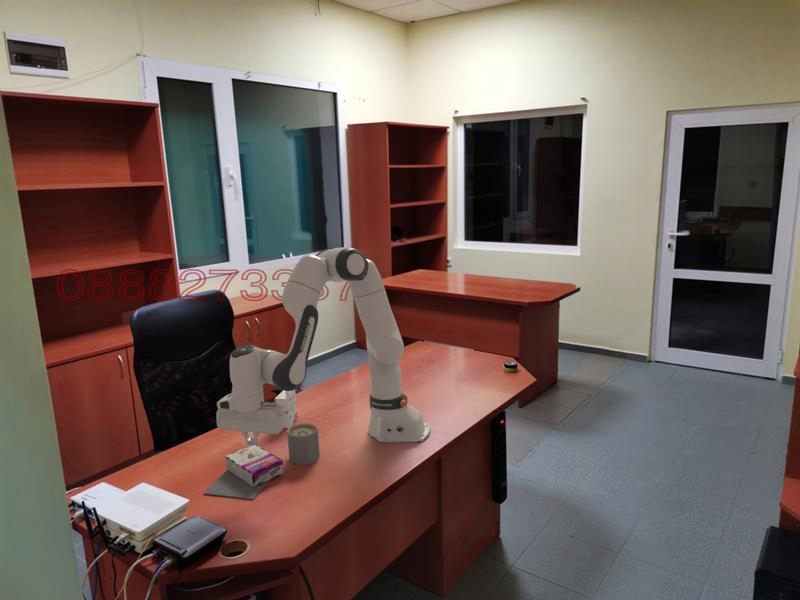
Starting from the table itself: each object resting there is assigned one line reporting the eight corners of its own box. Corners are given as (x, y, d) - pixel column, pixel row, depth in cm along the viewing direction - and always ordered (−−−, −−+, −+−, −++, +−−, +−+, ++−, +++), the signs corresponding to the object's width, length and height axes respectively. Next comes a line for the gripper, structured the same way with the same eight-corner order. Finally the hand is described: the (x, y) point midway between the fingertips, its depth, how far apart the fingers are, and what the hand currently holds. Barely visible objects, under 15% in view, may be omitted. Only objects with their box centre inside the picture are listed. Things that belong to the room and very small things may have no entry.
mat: (277, 471, 178) (276, 470, 178) (253, 499, 163) (253, 498, 163) (231, 467, 181) (230, 466, 181) (203, 494, 166) (203, 493, 166)
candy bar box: (284, 474, 176) (256, 456, 187) (283, 459, 174) (255, 442, 186) (252, 488, 168) (225, 469, 179) (251, 473, 167) (224, 455, 178)
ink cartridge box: (285, 418, 217) (282, 382, 214) (297, 418, 216) (295, 382, 213) (276, 427, 209) (273, 390, 206) (289, 428, 208) (286, 391, 205)
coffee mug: (307, 467, 180) (305, 438, 178) (283, 460, 185) (280, 432, 182) (331, 449, 191) (329, 422, 189) (308, 443, 196) (306, 416, 194)
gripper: (285, 398, 166) (288, 442, 169) (222, 394, 170) (227, 436, 173) (276, 407, 160) (279, 452, 163) (211, 402, 164) (216, 446, 167)
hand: (252, 444), depth 168 cm, fingers closed
